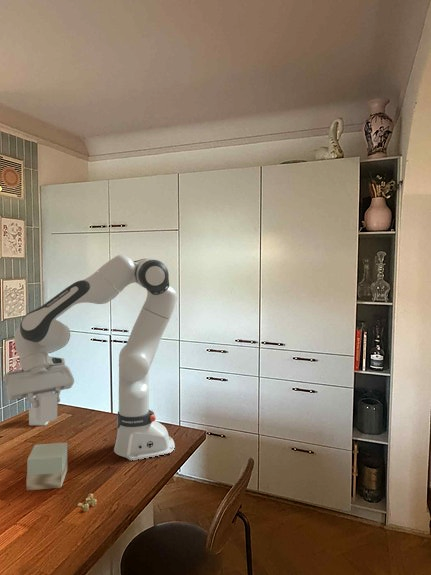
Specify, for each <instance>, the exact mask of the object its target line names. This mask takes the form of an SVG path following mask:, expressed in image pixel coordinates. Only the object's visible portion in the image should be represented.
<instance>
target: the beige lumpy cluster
mask: <svg viewBox="0 0 431 575" xmlns="http://www.w3.org/2000/svg"><path fill="white" fill-rule="evenodd" d="M89 504H91V507H95V506H97V499H96V498H94V494H93V493H88V494H87V498H85V503H84V504H83V503H81V502H79V503H78V504H77V507H82V508H83V512H88V511H89V509H90V508H89V507H90V505H89Z"/></svg>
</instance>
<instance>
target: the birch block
mask: <svg viewBox="0 0 431 575" xmlns="http://www.w3.org/2000/svg"><path fill="white" fill-rule="evenodd" d="M67 472H68V458H67V459H66V463H65V466H64V469H63V472H62V473H53V474H41V475H30V476H27V474H26V491H34V490H45V489H46V490H47V489H50V490H51V489H61V488H62V486H63V484H64V481H65V478H66V475H67Z"/></svg>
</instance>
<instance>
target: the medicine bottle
mask: <svg viewBox="0 0 431 575" xmlns="http://www.w3.org/2000/svg"><path fill="white" fill-rule="evenodd" d="M32 397H33V398H34V399H35V400H36V396H32ZM48 423H50V421H49V422H45V423H40V422H39V421H38V420H37V419H36V408H33V405H32V406H31V407H30V408H29V409H28V425H29V426H47V425H48Z"/></svg>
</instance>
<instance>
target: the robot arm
mask: <svg viewBox="0 0 431 575" xmlns="http://www.w3.org/2000/svg"><path fill="white" fill-rule="evenodd" d="M169 274H170V273H169V270H168V268H167V266H166V265H165V264H164V262H162V261H160V260H158V259H156V258H151V257H150V258H149V257H148V258H143V259H142V258H141V259H138V260H132V259H131V258H130V257H128V256H127V255H124V254H118V255H116V256H114V257H113V258H112V259H110V260H108V261H107V262H106V263H104V264H103V265H102V266H101V267H99V268H98V269H97V270H96V271H95V272H94V273H92V274H91V275H90V276H88V277H86V278H84V279H82V280H78V281H76V282H73V283H72V284H70V285H69V286H67V287H65V288H64V289H63V290H61V291H60V292H59V293H57V294H56V295H55V296H53V297H52V298H50V299H49V300H48V301H46V302H45V303H44V304H42V305H41V306H39V307H37V308H35V309H33V310H31V311H29V312H28V313H27V314H26V315H25V316H23V318H22V320H21V321H20V324H19V325H20V326H19V327H18V328H17V329H15V332H14V347H15V350H16V353H17V356H18V357H19V365H20V368H21V369H18V370H12V371H11V370H10V371H8V372H7V373H5V374H4V375H3V377H2V378H3V382H4V384H5V385H6V396H7V399H9V400H11V401H13V400H20V399H24V398H26V401H28V402H29V403H30V404H31V405H32V406H33V408H37V407H39V403H38V402H39V401H38V400H35V399H34V398H33V397H34V396H35V394H38V393H43V392H48V391H53V392H54V393H56V394H57V404H59V403H60V402H61V399H60V398H61V397H60V395H61V391H64V390H69V389H71V388H72V387H73V385H74V384H75V379H74V375H73V372H72V371H71V369H70V367H69V366H67V365H66V359H65V358H63V357H58V356H57V357H56V356H49V354H51V353H54V352H57V351H59V350H61V349H63V348H65V347H66V345H67V344H68V343H69V341H70V338H71V330H70V328H69V327H68V325H66V324H64V323H63V322H61V321H60V320H57V319H58V318H60V316H62V315H63V314H64V313H66V312H67V311H69V310H70V309H71V308H72V307H74V306H76V305H79V304H81V303H82V304H83V303H87V304H88V303H89V304H94V305H95V304H96V305H103V304H105V305H106V304H108V303H109V302H111V301H112V300H114V299H115V298H116V297H117V296H119V294H120V293H121V292H122V291H124V289H125V288H126V287H128V286H129V285H131V284H135V283H136V284H138V285H139V286H140V287H142V288H144V289H146V292H147V294H146V295H147V296H146V299H145V301H144V303H143V305H142V307H141V310H140V312H139V313H138V316H137V318H136V320H135V322H134V324H133V326H132V329H131V332H130V334H129V337H128V340H127V342H126V344H125V345H123V347H121V349H120V351H119V355H118V411H117V414H116V426H117V433H116V439H115V445H114V448H113V452H114V453H115V454H116V455H118V456H120V457H123V458H126V459H127V460H128V461H132V460H133V461H139V460H145V459H144V458H146V459H150V458H149V457H152V458H156V457H155V456H158V457H160V456H159V455H164V454H168V453H171V452H172V451H173V450H174V451H175V449H176V446H175V444H176V443H175V441H174V439H173V438H172V437H171V436H169V435H170V434H169V432H168V429H167V428H166V427H165V425H163V424H162V423H160V422H159V421H157V420H156V419H157V418H156V415H155V412H154V410H153V409H150V407H149V406H150V405H149V404H150V387H149V386H150V384H149V371H150V368H151V366H152V364H153V361H154V359H155V356H156V353H157V350H158V347H159V344H160V342H161V339H162V337H163V335H164V332H165V330H166V328H167V326H168V323H169V321H170V319H171V317H172V315H173V312H174V309H175V307H176V302H177V299H178V294H177V291H176V290H175V289H174V287H172V286H170V276H169ZM174 448H175V449H174ZM164 456H165V455H164ZM138 459H139V460H138Z"/></svg>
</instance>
